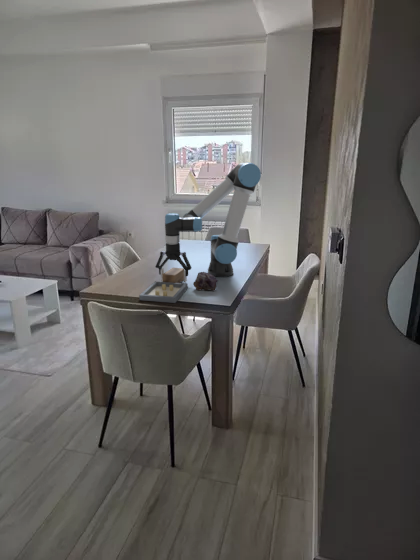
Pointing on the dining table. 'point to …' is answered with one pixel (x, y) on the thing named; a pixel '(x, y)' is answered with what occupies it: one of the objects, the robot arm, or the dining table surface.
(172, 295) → the grey shallow tray
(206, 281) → the rock
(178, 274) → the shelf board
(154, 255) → the dining table surface
